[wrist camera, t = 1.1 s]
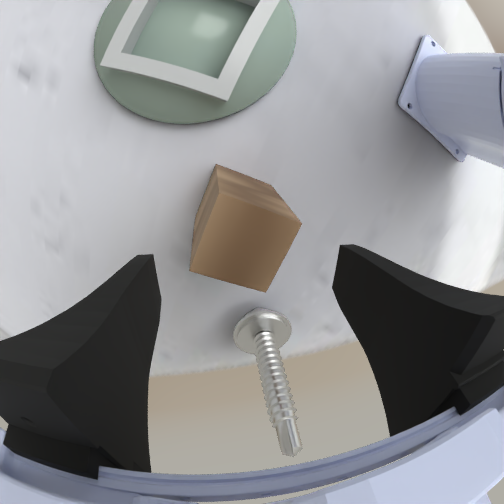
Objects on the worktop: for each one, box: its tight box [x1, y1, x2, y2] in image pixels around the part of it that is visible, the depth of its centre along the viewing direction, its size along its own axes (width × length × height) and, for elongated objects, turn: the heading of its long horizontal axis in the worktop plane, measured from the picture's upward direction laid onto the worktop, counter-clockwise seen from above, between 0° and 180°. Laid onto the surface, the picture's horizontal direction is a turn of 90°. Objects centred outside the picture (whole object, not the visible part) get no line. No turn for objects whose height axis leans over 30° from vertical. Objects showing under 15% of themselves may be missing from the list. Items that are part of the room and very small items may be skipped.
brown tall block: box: [189, 164, 302, 292], centre depth 16 cm, size 4×4×7 cm
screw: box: [233, 307, 302, 457], centre depth 18 cm, size 13×5×5 cm
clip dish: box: [94, 0, 296, 124], centre depth 12 cm, size 13×13×2 cm
